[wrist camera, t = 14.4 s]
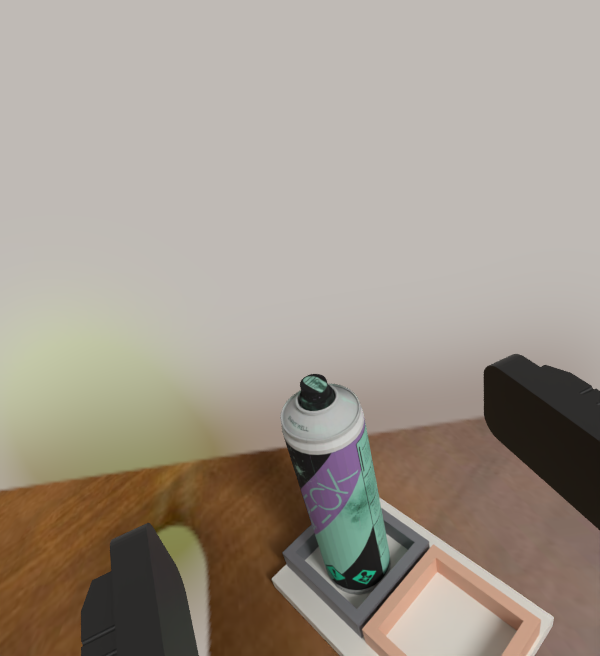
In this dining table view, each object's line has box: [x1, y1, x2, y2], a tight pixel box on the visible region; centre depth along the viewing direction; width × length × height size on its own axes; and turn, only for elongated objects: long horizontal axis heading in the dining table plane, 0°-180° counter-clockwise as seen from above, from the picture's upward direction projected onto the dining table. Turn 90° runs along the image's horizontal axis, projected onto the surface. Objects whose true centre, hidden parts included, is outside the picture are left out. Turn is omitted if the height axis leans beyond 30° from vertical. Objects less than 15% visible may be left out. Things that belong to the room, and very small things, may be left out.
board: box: [271, 498, 554, 656], centre depth 38 cm, size 12×18×3 cm, turn 42°
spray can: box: [281, 374, 391, 595], centre depth 36 cm, size 6×6×20 cm
